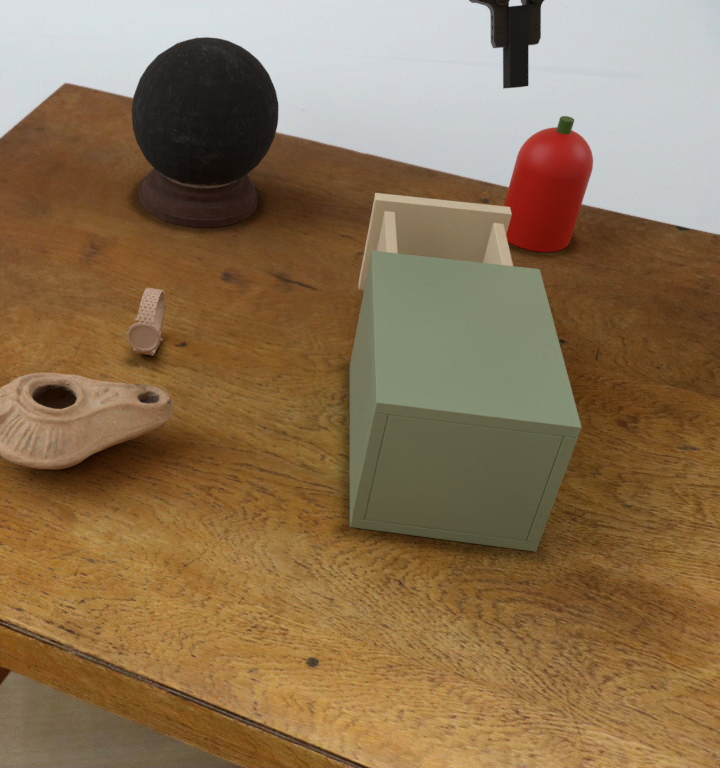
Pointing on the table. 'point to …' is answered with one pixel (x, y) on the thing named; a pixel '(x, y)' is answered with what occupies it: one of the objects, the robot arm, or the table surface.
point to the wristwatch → (148, 322)
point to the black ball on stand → (203, 131)
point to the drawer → (437, 230)
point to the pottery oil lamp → (74, 417)
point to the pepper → (548, 188)
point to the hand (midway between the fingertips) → (515, 87)
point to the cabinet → (457, 402)
